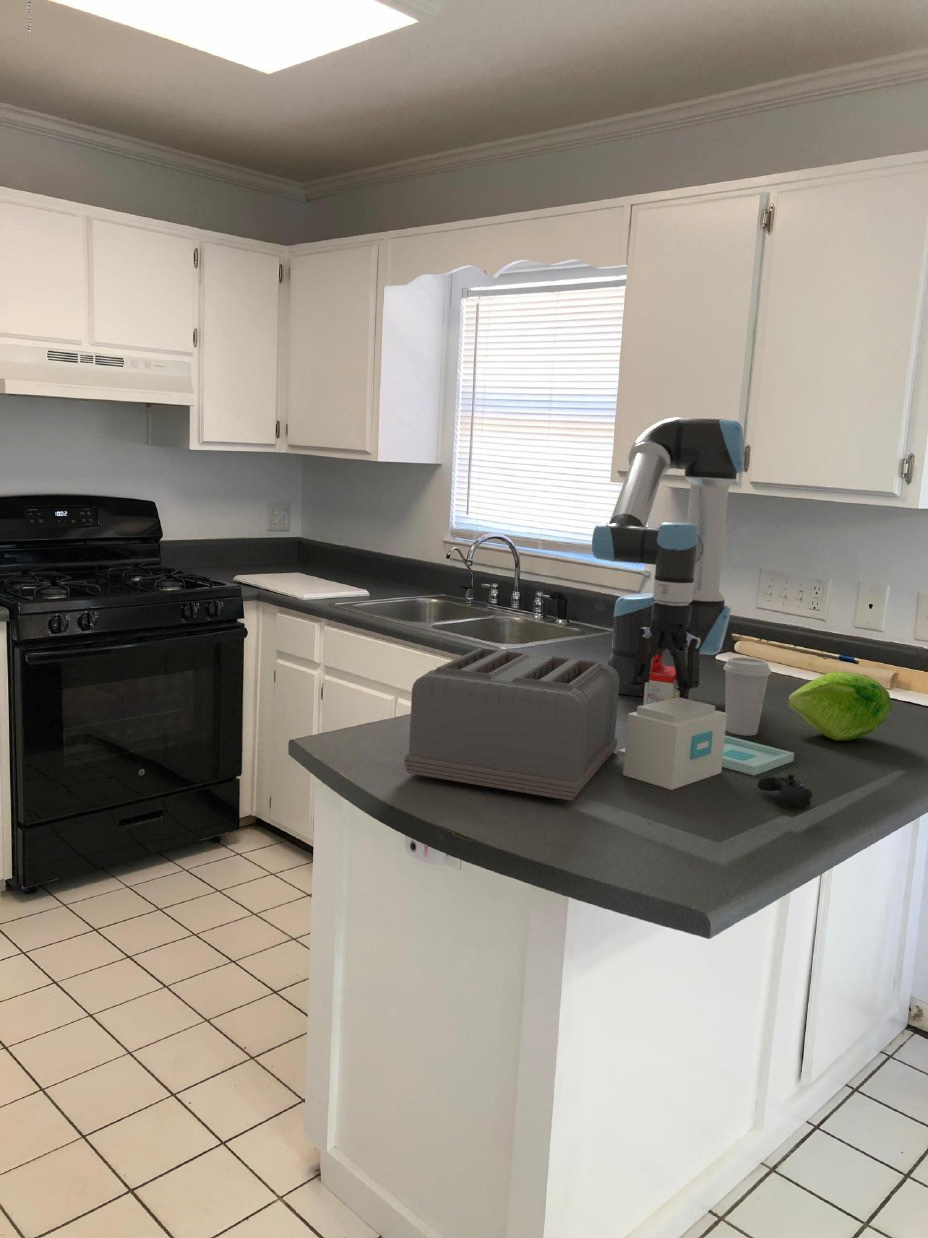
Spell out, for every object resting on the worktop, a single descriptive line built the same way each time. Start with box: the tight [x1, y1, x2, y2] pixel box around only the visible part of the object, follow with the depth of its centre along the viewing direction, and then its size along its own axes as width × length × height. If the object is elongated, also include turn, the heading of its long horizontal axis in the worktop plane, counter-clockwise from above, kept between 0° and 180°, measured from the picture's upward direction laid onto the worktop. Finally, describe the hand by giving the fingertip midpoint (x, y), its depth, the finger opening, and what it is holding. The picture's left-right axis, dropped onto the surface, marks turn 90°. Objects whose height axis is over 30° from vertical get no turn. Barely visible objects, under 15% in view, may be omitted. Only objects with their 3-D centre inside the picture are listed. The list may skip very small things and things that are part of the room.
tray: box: [722, 734, 795, 776], centre depth 192 cm, size 15×15×2 cm
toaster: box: [404, 647, 619, 801], centre depth 183 cm, size 30×36×18 cm
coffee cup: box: [723, 656, 772, 736], centre depth 211 cm, size 10×10×15 cm
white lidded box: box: [616, 697, 727, 791], centre depth 180 cm, size 14×16×12 cm
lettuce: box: [788, 671, 893, 742], centre depth 211 cm, size 15×20×14 cm
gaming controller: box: [757, 774, 813, 808], centre depth 167 cm, size 10×5×6 cm
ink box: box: [647, 652, 678, 704], centre depth 201 cm, size 8×5×15 cm, turn 155°
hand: (662, 717), depth 201 cm, fingers closed on ink box, 6 cm apart
